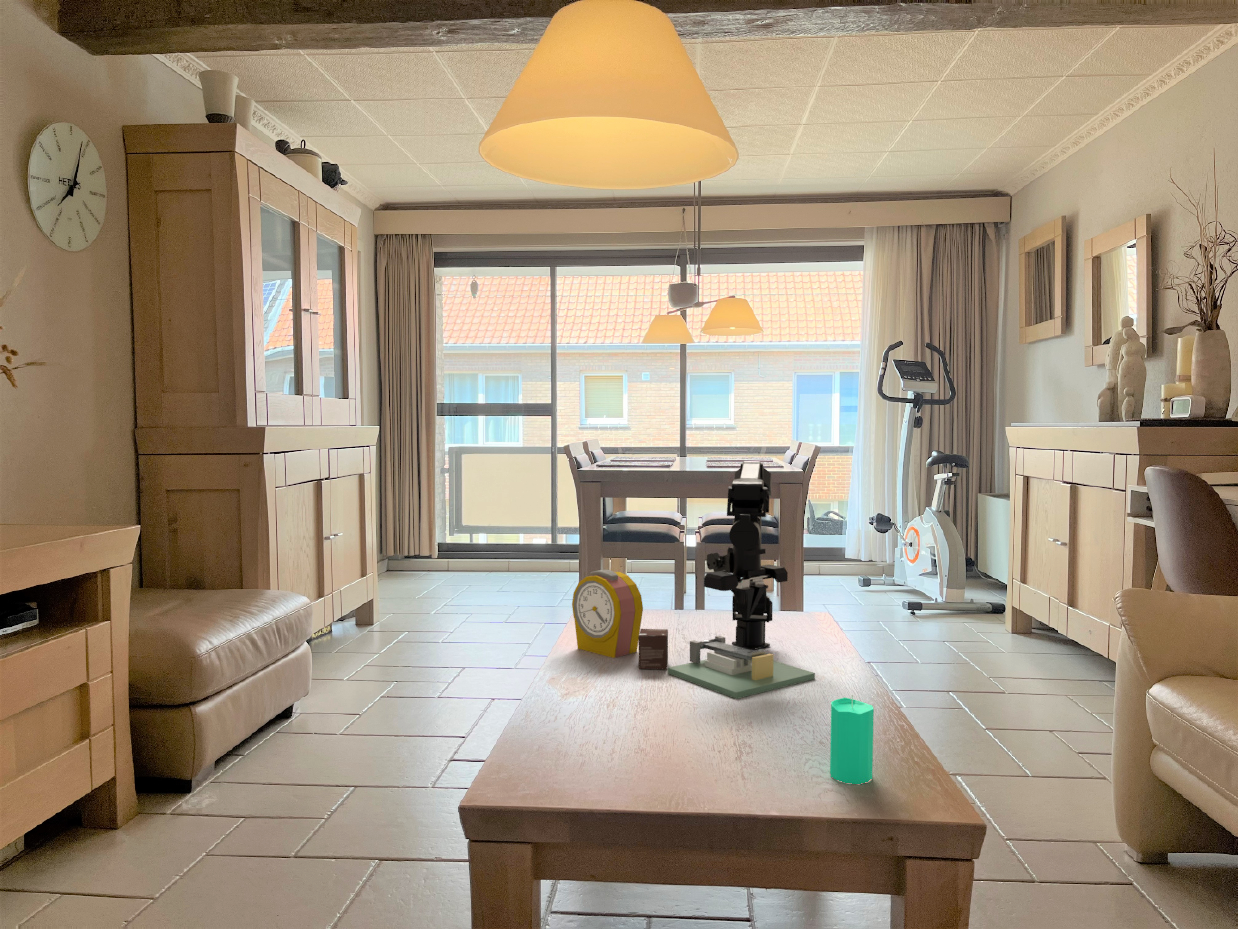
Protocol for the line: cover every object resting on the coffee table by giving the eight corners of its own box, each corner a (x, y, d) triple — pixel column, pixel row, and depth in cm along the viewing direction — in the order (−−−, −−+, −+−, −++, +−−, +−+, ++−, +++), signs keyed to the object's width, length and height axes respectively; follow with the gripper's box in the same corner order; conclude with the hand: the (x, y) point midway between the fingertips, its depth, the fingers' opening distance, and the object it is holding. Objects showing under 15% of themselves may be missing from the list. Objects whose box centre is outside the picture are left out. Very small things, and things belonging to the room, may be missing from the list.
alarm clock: (570, 647, 192) (570, 568, 191) (595, 641, 198) (595, 564, 197) (617, 660, 182) (618, 576, 181) (642, 653, 188) (643, 571, 187)
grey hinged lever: (713, 645, 181) (713, 636, 181) (767, 659, 168) (767, 649, 168) (696, 648, 178) (696, 639, 178) (749, 663, 165) (749, 653, 165)
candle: (823, 768, 124) (825, 688, 124) (863, 767, 125) (864, 688, 124) (837, 785, 118) (839, 702, 118) (879, 784, 119) (880, 701, 118)
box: (668, 662, 180) (668, 629, 180) (667, 670, 174) (667, 635, 174) (640, 661, 181) (640, 628, 181) (638, 669, 175) (638, 635, 175)
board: (741, 655, 186) (741, 631, 186) (814, 678, 169) (815, 652, 169) (664, 672, 173) (665, 645, 173) (736, 698, 156) (736, 669, 156)
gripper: (750, 535, 181) (750, 606, 182) (685, 542, 170) (685, 618, 171) (789, 541, 172) (788, 616, 173) (723, 548, 161) (723, 629, 162)
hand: (745, 619), depth 170 cm, fingers closed
